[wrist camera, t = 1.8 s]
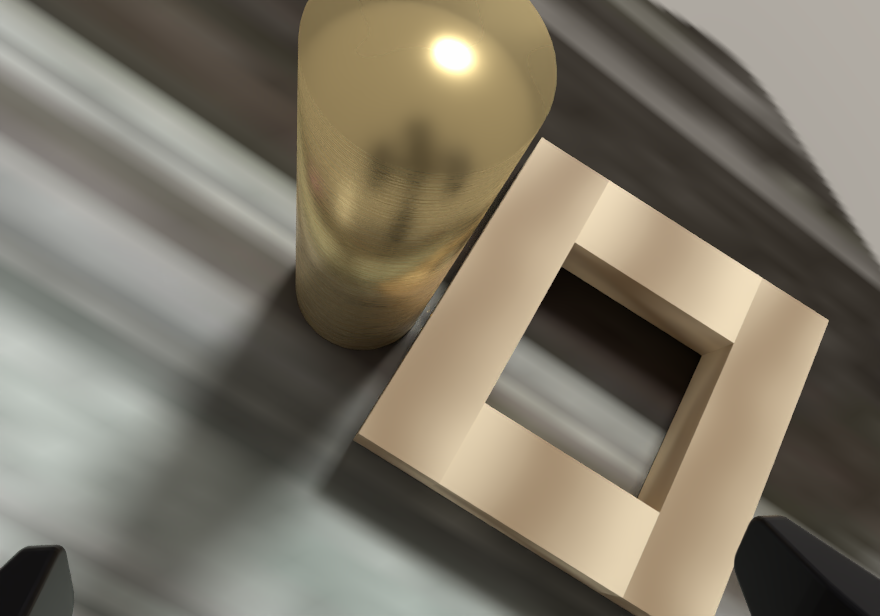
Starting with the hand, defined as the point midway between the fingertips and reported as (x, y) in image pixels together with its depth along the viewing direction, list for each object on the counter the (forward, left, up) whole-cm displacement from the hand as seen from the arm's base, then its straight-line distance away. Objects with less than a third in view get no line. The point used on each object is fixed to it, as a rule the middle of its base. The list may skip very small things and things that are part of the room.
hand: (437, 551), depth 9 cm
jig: (-5, -8, -13) cm, 16 cm away
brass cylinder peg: (+4, -7, -13) cm, 16 cm away
